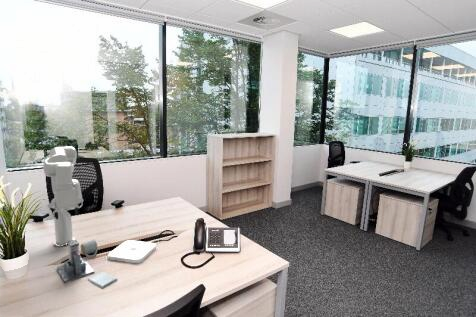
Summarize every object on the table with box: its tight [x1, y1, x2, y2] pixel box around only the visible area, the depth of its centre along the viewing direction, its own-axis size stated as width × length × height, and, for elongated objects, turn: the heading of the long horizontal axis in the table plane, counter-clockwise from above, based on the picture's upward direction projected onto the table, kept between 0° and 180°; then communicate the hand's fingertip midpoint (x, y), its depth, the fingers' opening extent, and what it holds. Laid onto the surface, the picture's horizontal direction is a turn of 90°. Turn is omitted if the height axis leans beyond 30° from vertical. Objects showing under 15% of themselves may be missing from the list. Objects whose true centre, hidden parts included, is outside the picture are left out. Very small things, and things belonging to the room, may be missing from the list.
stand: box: [56, 252, 95, 284], centre depth 151 cm, size 18×14×12 cm
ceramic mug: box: [80, 239, 99, 258], centre depth 169 cm, size 11×8×8 cm
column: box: [67, 239, 80, 266], centre depth 150 cm, size 6×4×15 cm, turn 44°
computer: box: [107, 239, 157, 264], centre depth 173 cm, size 22×22×3 cm
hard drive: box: [87, 271, 118, 289], centre depth 144 cm, size 2×8×12 cm
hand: (67, 216), depth 154 cm, fingers open, 9 cm apart
